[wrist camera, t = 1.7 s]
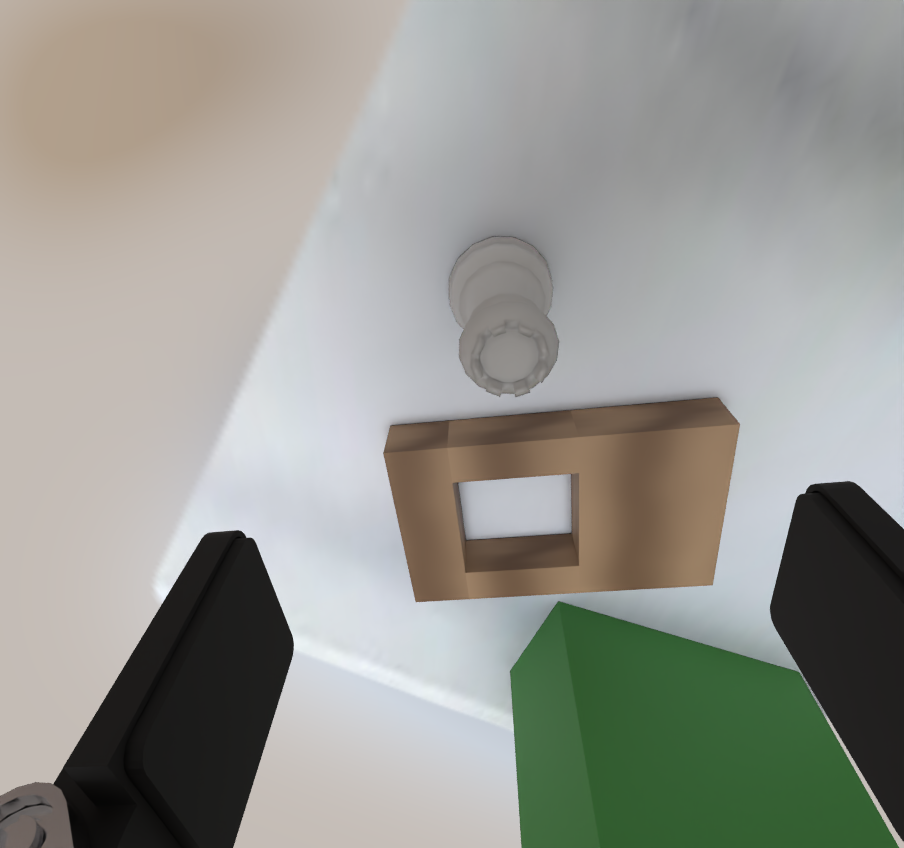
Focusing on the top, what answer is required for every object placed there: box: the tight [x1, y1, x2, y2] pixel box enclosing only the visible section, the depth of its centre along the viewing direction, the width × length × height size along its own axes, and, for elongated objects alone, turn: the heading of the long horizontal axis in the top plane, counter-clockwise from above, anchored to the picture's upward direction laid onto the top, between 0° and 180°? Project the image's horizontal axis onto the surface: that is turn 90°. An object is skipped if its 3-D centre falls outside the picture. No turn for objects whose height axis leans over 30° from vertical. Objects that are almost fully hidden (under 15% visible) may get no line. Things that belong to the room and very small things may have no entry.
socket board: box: [383, 398, 740, 602], centre depth 28 cm, size 16×10×2 cm, turn 97°
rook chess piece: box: [449, 237, 559, 397], centre depth 21 cm, size 4×4×8 cm
